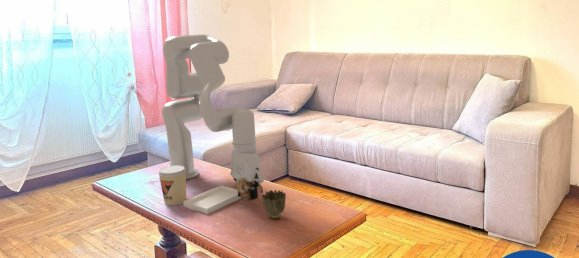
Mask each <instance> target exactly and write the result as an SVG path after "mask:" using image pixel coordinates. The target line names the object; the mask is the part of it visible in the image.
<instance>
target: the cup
mask: <svg viewBox="0 0 579 258" xmlns="http://www.w3.org/2000/svg"><path fill="white" fill-rule="evenodd" d="M286 195H287V193H286V192H285V191H284V192H283V190H278V191H277V190H274V191H273V190H269V191H268V190H267V191H265V194H264V193H262V202H263V208H264V210H265V212H266V213H267V214H268V215H269V218H270V219H272V220H278V219H280V218H281V216H282V213H283V212H284V211H285V207H286Z"/></svg>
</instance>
